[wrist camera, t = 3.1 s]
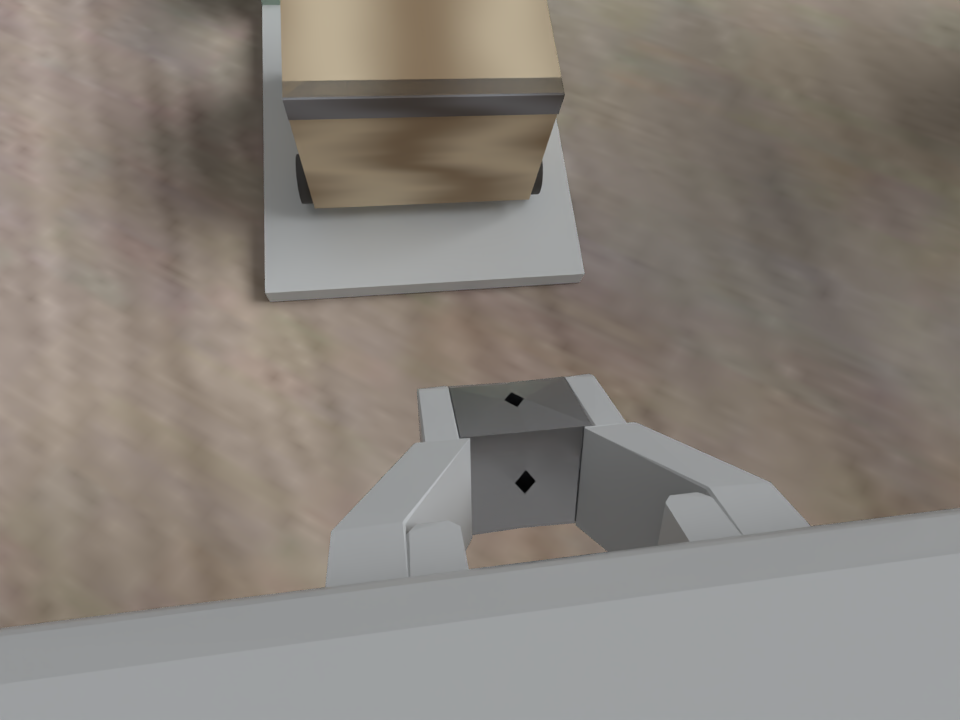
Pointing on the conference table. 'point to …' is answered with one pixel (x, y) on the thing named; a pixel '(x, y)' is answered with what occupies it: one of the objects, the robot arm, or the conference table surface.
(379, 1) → the wooden cart
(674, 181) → the conference table surface
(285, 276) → the dock
